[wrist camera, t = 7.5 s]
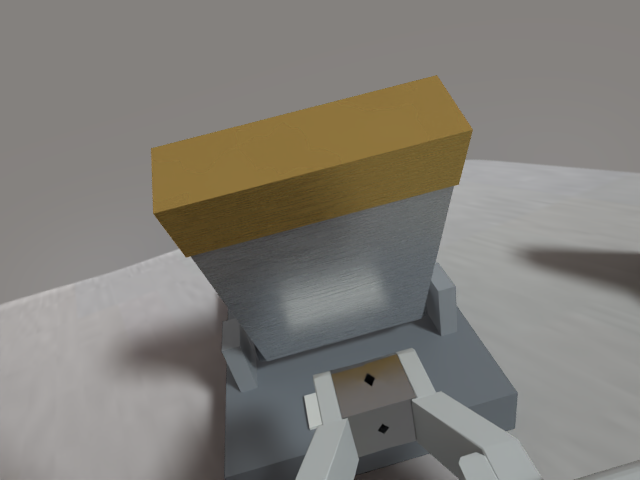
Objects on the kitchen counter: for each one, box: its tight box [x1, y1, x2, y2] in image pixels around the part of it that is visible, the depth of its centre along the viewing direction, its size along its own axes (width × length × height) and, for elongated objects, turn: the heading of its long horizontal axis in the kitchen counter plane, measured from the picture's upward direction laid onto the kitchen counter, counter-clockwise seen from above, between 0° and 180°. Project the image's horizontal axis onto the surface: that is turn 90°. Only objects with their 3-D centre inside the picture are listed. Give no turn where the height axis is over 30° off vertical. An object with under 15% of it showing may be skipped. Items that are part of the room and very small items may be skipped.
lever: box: [151, 75, 473, 362], centre depth 19 cm, size 3×10×16 cm, turn 100°
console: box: [222, 263, 518, 480], centre depth 28 cm, size 18×15×6 cm
